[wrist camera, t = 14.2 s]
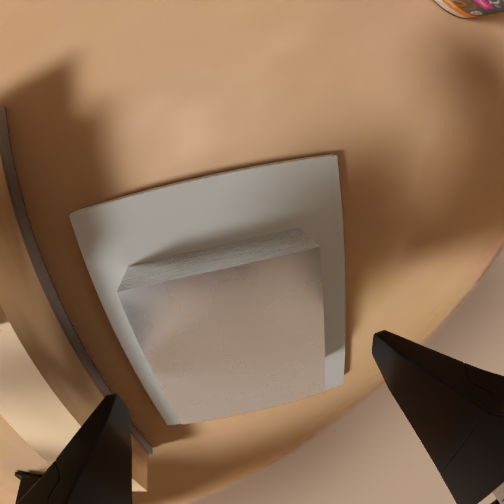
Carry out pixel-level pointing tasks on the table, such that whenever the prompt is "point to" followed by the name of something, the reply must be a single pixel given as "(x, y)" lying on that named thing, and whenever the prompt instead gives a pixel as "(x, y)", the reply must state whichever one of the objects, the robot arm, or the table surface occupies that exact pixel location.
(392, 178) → the table surface
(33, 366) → the body
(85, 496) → the robot arm
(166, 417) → the mat
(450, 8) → the pill bottle
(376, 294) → the table surface
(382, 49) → the table surface
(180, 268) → the cap plate
